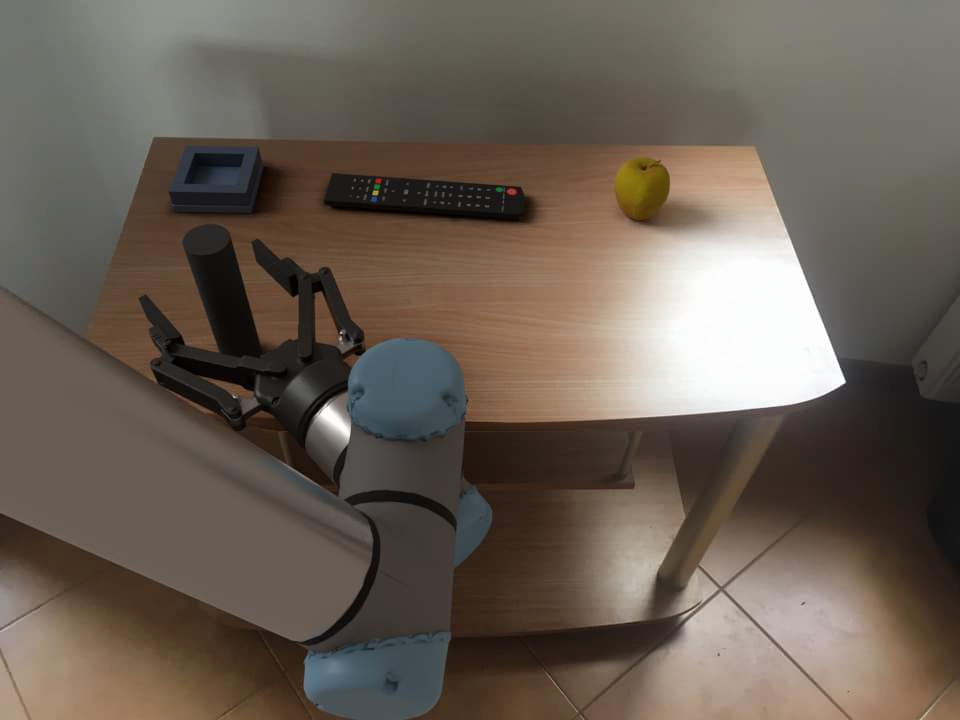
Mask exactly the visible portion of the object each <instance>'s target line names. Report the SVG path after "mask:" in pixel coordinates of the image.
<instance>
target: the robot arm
mask: <svg viewBox="0 0 960 720" xmlns="http://www.w3.org/2000/svg"><path fill="white" fill-rule="evenodd" d="M251 247H252V250H253V254H254V258H255V262H256V263H257V264H258V265H259V266H260V267H261V268H262V269H263V270H264V271H265V272H266V273H267V274H268V275H269V276H270V277H271V278H272V279H273V280H274V281H275V282H276V283H277V284H278V285H279V286H280V287H281V288H283V290H284V291H285V292H287V293H288V295H290V296H291V298H296V297H297V296H298V324H297V339H296V338H295V339H292V338H289V339H287V340H285V341H283V342H282V343H280V345H279V346H277V347H276V348H274V349H270V350H268V351H265V352H263V354H262V355H261V356H260V358H261V359H260V358H256V357H251V356H247V355H244V356H243V357H236V356H231V355H227V354H222V353H219V351H212V350H209V349H204V348H199V347H195V346H191V345H186V343H185V340H184V337H183V335H182V334H181V332H180V331H179V330H178V329H177V328H176V327H175V325H174V324H173V323H172V322H171V321H170V320H169V319H168V318H167V316H165V314H164V313H163V312H162V311H161V309H160V308H159V307H158V306H157V305H156V304H155V303H154V301H152V299H151V298H150V297H149V296H148V295H147V294H146V293H145V294H143V295H141V296H139V297H138V301H139V303H140V306H141V308H142V311H143V313H144V315H145V318H146V319H147V320H148V322H149V323H150V324H151V325H152V327H150V328H147V329H148V335H149V337H150V339H151V341H152V344H153V345H154V346H155V348H156V349H157V350H158V351H159V352H160V354H161V356H160V357H154V358H153V359H151V360H150V361H149V368H150V370H151V372H152V374H153V376H154V379H155V381H154V380H153V379H151V378H149V377H148V376H146V375H145V374H143V372H140V371H139V370H137V369H135V368H134V367H132V366H131V365H129V364H127V363H126V362H124V361H122V360H121V359H119V358H118V357H116V356H114V355H113V354H111V353H110V352H108V351H107V350H105V349H104V348H102V347H100V346H98V345H97V344H96V343H94V342H92V341H91V340H89V339H88V338H85V337H84V336H82V335H81V334H80V333H78V332H76V331H75V330H73V329H72V328H70V327H68V326H67V325H65V324H64V323H62V322H60V321H59V320H57V319H56V318H54V317H52V316H51V315H49V314H47V313H46V312H44V311H43V310H41V309H40V308H38V307H36V306H35V305H33V304H32V303H30V302H29V301H27V300H25V299H24V298H23V297H21V296H19V295H17V294H16V293H14V292H13V291H11V290H9V289H8V288H7V287H5V286H3V285H2V284H0V514H1V515H4V516H6V517H9V518H11V519H13V520H15V521H17V522H20V523H22V524H24V525H26V526H29V527H31V528H34V529H36V530H38V531H41V532H43V533H45V534H47V535H50V536H51V537H54V538H57V539H58V540H61V541H63V542H66V543H67V544H70V545H73V546H75V547H77V548H79V549H82V550H84V551H86V552H89V553H91V554H93V555H95V556H97V557H100V558H102V559H105V560H107V561H109V562H111V563H114V564H116V565H118V566H120V567H123V568H125V569H128V570H129V571H132V572H133V573H134V572H135V573H137V574H139V575H141V576H143V577H145V578H148V579H150V580H152V581H154V582H156V583H157V582H158V583H159V584H161V585H164V586H165V587H169V588H171V589H173V590H176V591H178V592H180V593H182V594H185V595H186V596H189V597H191V598H194V599H196V600H198V601H200V602H203V603H205V604H207V605H209V606H211V607H215V608H216V609H219V610H222V611H223V612H226V613H228V614H230V615H233V616H235V617H238V618H239V619H241V620H244V621H247V622H248V623H250V624H253V625H256V626H258V627H260V628H263V629H264V630H267V631H269V632H271V633H274V634H276V635H279V636H281V637H283V638H285V639H287V640H288V641H290V642H292V643H296V644H298V645H299V646H301V647H302V648H304V649H306V650H308V651H307V654H306V656H305V658H304V661H303V665H304V677H303V691H304V693H305V697H306V698H307V699H308V700H309V701H310V702H311V703H313V705H315V707H317V709H319V710H321V711H323V712H325V713H327V714H330V715H333V716H336V717H340V718H343V719H344V718H345V719H350V720H410V719H415V718H418V717H420V716H422V715H424V714H426V713H428V712H429V711H430V710H431V709H433V708H434V707H435V706H436V704H437V703H438V702H439V700H440V698H441V695H442V692H443V683H444V677H445V669H446V662H447V656H448V650H449V643H450V641H451V640H452V631H451V620H452V604H453V590H454V589H453V588H454V587H453V586H454V574H455V573H454V570H455V568H456V567H458V566H459V565H460V564H461V563H462V562H464V561H465V560H466V559H467V558H468V557H469V556H470V555H472V554H473V552H474V551H475V550H476V549H477V548H478V547H479V545H480V544H481V543H482V541H483V540H484V539H485V537H486V536H487V534H488V532H489V530H490V528H491V525H492V522H493V509H492V508H491V506H490V504H489V502H487V500H486V499H485V498H484V497H483V496H482V495H481V494H480V492H479V491H478V488H477V486H476V485H472V484H470V482H469V481H467V480H466V478H465V477H464V471H465V470H464V469H465V468H464V446H465V445H464V444H465V432H466V431H465V430H466V416H467V406H468V402H469V399H468V395H467V393H466V382H465V381H466V380H465V375H464V372H463V368H462V366H461V365H460V363H459V362H458V360H457V359H456V357H455V356H454V355H453V354H452V353H451V352H449V351H448V350H447V349H446V348H444V347H443V346H441V345H440V344H438V343H436V342H433V341H431V340H428V339H423V338H413V337H410V338H407V337H397V338H392V339H388V340H385V341H382V342H379V343H377V344H376V345H373V346H372V347H370V348H369V349H366V347H367V346H366V339H365V332H364V330H363V329H362V328H361V327H360V326H359V325H358V324H357V323H356V322H354V320H353V319H352V318H351V315H350V313H349V310H348V308H347V306H346V303H345V301H344V298H343V296H342V293H341V291H340V288H339V286H338V284H337V280H336V279H335V276H334V274H333V271H332V269H331V268H330V267H328V266H322V267H320V268H319V269H318V271H317V272H313V273H311V272H309V271H305V270H304V269H303V268H302V267H301V266H300V265H299V264H297V262H295V261H294V260H293V258H291V257H288V256H285V257H283V258H282V259H281V258H279V256H277V255H276V254H275V253H274V252H273V251H272V250H271V249H270V248H269V247H268V246H267V245H266V244H265V243H264V242H263V241H261V239H260V238H256V239H254V240H251ZM317 293H322V296H323V298H324V301H325V304H326V306H327V309H328V311H329V314H330V316H331V319H332V321H333V324H334V327H335V329H336V331H337V336H336V339H337V345H332V344H330V343H329V344H328V343H324V342H317V339H316V338H317V337H316V335H317V334H316V294H317ZM352 355H354V356H356V357H358V359H357V360H356V361H355V363H354V364H353V365H352V366H351V365H350V364H349V363H347V361H344V360H345V359H348V358H349V357H350V356H352ZM205 378H206V379H205ZM207 379H211V380H215V381H219V382H224V383H228V384H233V385H237V386H240V387H241V388H243V389H244V390H246V391H250V392H253V397H252V396H251V397H249V398H247V397H244V396H243V395H240V394H239V393H237V392H235V393H233V394H232V393H230V392H229V391H227V390H226V388H223V387H221V386H219V385H217V384H216V383H213V382H211V381H209V380H207ZM178 395H179V396H180V397H179V396H178ZM183 398H184V399H183ZM185 399H186V400H185ZM187 400H188V401H190V402H192V403H194V404H196V405H198V406H200V407H202V408H204V409H206V410H208V411H210V412H211V413H214V414H216V415H218V416H220V417H222V418H223V419H224V421H225V422H226V423H227V424H228V425H229V426H230V427H231V428H229V427H227V426H226V425H224V424H223V423H221V422H219V421H218V420H217V419H215V418H214V417H212V416H210V415H208V414H207V413H205V412H204V411H202V410H200V409H199V408H197V407H195V405H192V404H191V403H189V402H188V401H187ZM260 412H264V413H265V414H269V415H271V416H273V417H274V418H275V419H276V421H277V422H278V423H279V424H280V425H281V426H282V427H283V428H284V430H286V432H287V433H288V434H289V435H290V436H291V437H292V438H293V440H294V441H295V442H296V443H297V444H298V445H299V446H300V447H301V448H302V449H304V450H305V452H306V454H307V455H308V456H309V457H310V458H311V459H312V461H314V463H315V464H316V465H317V466H318V467H319V468H320V469H321V471H322V472H323V473H324V474H325V475H326V476H327V478H328V479H329V480H330V481H331V482H332V483H333V484H334V485H335V486H336V487H337V488H338V489H339V490H338V495H336V494H334V493H333V492H331V491H329V490H328V489H327V488H324V487H323V486H322V485H320V484H318V483H317V482H315V481H314V480H312V479H310V478H309V477H307V476H305V475H304V474H302V473H301V472H300V471H298V470H296V469H294V468H293V467H291V466H289V465H288V464H286V463H285V462H283V461H282V460H281V459H278V458H277V457H275V456H274V455H272V454H271V453H269V452H268V451H265V449H263V448H261V447H260V446H258V445H256V443H253V442H251V441H250V440H248V439H247V438H245V437H244V436H243V435H240V434H239V433H237V432H242V431H244V430H245V429H246V428H247V420H248V419H250V418H251V417H253V416H255V415H256V414H258V413H260Z"/></svg>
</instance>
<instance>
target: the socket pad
mask: <svg viewBox="0 0 960 720" xmlns="http://www.w3.org/2000/svg"><path fill="white" fill-rule="evenodd" d="M264 167H265V165H264V161H263V159H262V155H261V151H260V147H259V146H234V145H233V146H231V145H230V146H229V145H228V146H227V145H190V144H189V145H185V146H184V148H183V151H182V154H181V156H180V160H179V161H178V165H177V167H176V170H175V172H174V175H173V178H172V180H171V183H170V185H169V187H168V195H169V198H170V200H171V201H170V202H171V203H172V204H171V208H172V210H173V212H175V213H217V214H219V213H221V214H222V213H224V214H226V213H227V214H228V213H229V214H252V213H253V209H254V206H255V202H256V198H257V194H258V191H259V186H260V182H261V179H262V175H263V171H264Z"/></svg>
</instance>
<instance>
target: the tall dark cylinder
mask: <svg viewBox="0 0 960 720" xmlns="http://www.w3.org/2000/svg"><path fill="white" fill-rule="evenodd" d="M181 242H182V243H181V244H182V247H183V250H184V253H185V257H186V259H187V263H188V265H189V267H190V270H191V273H192V276H193V279H194V282H195V285H196V288H197V291H198V294H199V297H200V299H201V304H202V305H203V309H204V312H205V314H206V317H207V320H208V323H209V326H210V329H211V332H212V335H213V338H214V341H215V343H216V346H217V349H218V353H222V354H227V355H231V356H236V357H243V356H244V355H247V356H251V357H256V358H260V356H261V355H262V354H264V351H263V349H262V345H261V341H260V337H259V334H258V330H257V327H256V323H255V319H254V316H253V312H252V308H251V305H250V301H249V298H248V294H247V290H246V287H245V283H244V280H243V276H242V272H241V269H240V265H239V262H238V257H237V255H236V250H235V247H234V243H233V240H232V236H231V233H230V231H229V230H228V229H227V227H224V226H223V225H220V224H216V223H205V224H200V225H197V226H195V227H192V228H191V229H190V230H188V231H187V232H186V233H185V234H184V236H183V238H182V241H181ZM260 359H261V358H260Z"/></svg>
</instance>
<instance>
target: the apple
mask: <svg viewBox="0 0 960 720" xmlns="http://www.w3.org/2000/svg"><path fill="white" fill-rule="evenodd" d="M661 162H662V159H659V160H657V159H655V158H651V157H636V158H631V159H628V160H627V161H625V162H624V163H623V164H622V165H621V166H620V168H619V169H618V172H617V174H616V176H615V180H614V194H615V198H616V202H617V204H618V207H619V208H620V211H621V212H622V213H623V215H625V217H626V218H628V219H629V218H630V219H632V220H636V221H642V220H643V221H644V220H646V219H649V218H652V217H653V216H655V215H656V214H657V213H658V212H659V210H661V208H662V207H663V206H664V204H665V203H666V201H667V199H668V197H669V194H670V189H671V176H670V172H669V171H668V169H667V168H666V166H665V165H663V164H662V163H661Z"/></svg>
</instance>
